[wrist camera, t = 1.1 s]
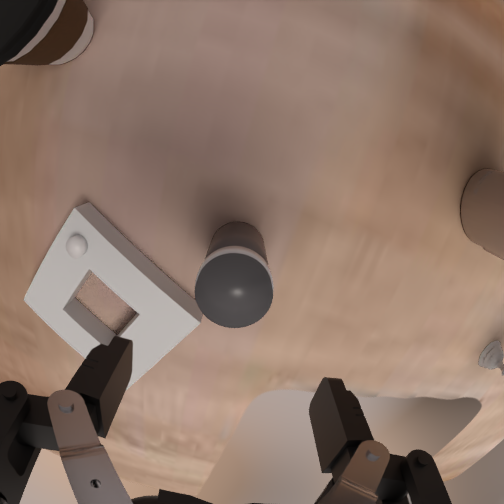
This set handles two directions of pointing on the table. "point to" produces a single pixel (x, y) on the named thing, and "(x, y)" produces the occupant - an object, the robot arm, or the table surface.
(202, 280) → the lens
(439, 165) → the table surface
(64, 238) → the plate
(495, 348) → the chalice
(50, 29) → the coffee cup
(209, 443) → the table surface
